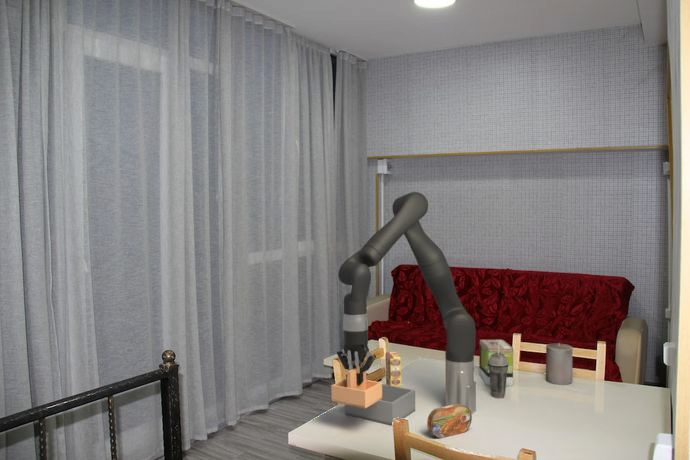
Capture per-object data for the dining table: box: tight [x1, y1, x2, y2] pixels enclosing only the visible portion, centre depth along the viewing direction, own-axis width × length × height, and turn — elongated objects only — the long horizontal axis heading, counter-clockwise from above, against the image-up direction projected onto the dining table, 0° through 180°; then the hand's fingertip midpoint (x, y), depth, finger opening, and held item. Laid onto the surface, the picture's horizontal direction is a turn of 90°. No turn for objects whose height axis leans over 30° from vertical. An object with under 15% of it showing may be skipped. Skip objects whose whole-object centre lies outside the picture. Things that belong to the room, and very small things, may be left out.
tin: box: [426, 404, 473, 439], centre depth 169 cm, size 15×3×8 cm, turn 117°
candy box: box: [384, 351, 402, 387], centre depth 202 cm, size 9×4×15 cm, turn 8°
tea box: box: [478, 339, 514, 387], centre depth 222 cm, size 15×10×15 cm
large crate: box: [344, 383, 416, 427], centre depth 187 cm, size 18×16×7 cm
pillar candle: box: [545, 342, 574, 386], centre depth 220 cm, size 10×10×15 cm
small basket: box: [330, 368, 383, 408], centre depth 174 cm, size 12×10×10 cm
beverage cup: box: [488, 339, 509, 399], centre depth 203 cm, size 7×7×20 cm
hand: (356, 383), depth 174 cm, fingers closed on small basket, 1 cm apart
